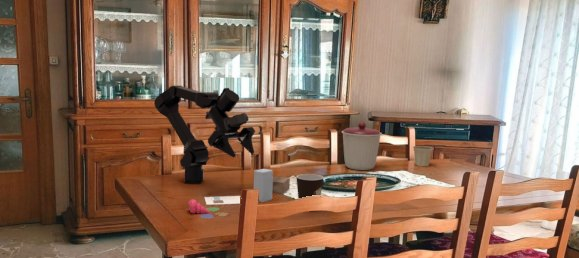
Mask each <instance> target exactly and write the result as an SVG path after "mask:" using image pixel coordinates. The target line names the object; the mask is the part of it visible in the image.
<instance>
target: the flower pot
mask: <svg viewBox="0 0 579 258" xmlns="http://www.w3.org/2000/svg"><path fill="white" fill-rule="evenodd" d="M412 149H413V151H414V152H413V153H414V165H415V166H418V167H429V165H430V161H431V160H430V159H431V156H432V152H433V150H434V147H430V146H427V145H426V146H425V145H424V146H423V145H415V146H412Z"/></svg>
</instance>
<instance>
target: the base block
mask: <svg viewBox="0 0 579 258" xmlns="http://www.w3.org/2000/svg"><path fill="white" fill-rule="evenodd" d="M290 179H291V178H290V177H281V176H274V175H273V189H272V194H281V195H283V194H285V193H286V192H288V191H289V190H290V182H291V180H290Z"/></svg>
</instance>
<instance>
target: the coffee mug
mask: <svg viewBox="0 0 579 258" xmlns="http://www.w3.org/2000/svg"><path fill="white" fill-rule="evenodd" d="M324 185H325V184H324V176H323V175H321V174H320V175H319V174H312V173H304V174H301V173H300V174H298V175H296V187H297V199H298V198H302V197H306V196H312V195H321V196H322V190H323V187H324Z"/></svg>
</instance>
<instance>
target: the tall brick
mask: <svg viewBox="0 0 579 258" xmlns="http://www.w3.org/2000/svg"><path fill="white" fill-rule="evenodd" d="M273 176H274V170H272V169H268V168H262V169H261V168H260V169H257V170H254V171H253V190H254V189H259V201H258V202H259V203H265V202H269V201H272V200H273V193H272V189H273Z"/></svg>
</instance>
